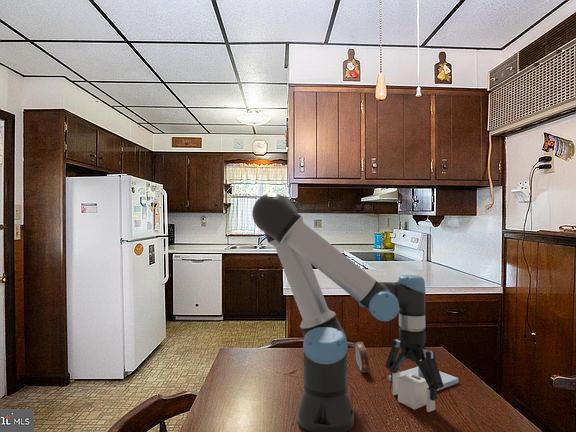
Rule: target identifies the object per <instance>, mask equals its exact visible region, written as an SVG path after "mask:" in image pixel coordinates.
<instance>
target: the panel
mask: <svg viewBox="0 0 576 432" xmlns="http://www.w3.org/2000/svg"><path fill="white" fill-rule="evenodd" d="M419 361H422V359H421V360H419ZM399 372H400V377H401V376H404V375H407V374H410V373H412V374H414V375H417V376H419V377H421V378H424V376H423V374H422V372H421V370H420V368H419V366H418V365H417V366H415V367H413V368H410V369H406V370H402V371H399ZM439 373H440V376H441V379H442V382H443V385H444V386H443V387H442V388H439V389H437V392H438V391H441V390H443V389H445V388H448V387H451V386H453V385H457V384H458V383H459V377H456V376H453V375H451V374H448V373H445V372H442V371H441V370H439ZM387 376H388V381H390V382H391V374H390V375H387ZM424 379H425V378H424ZM428 387H429V386H428Z"/></svg>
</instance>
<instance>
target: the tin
mask: <svg viewBox="0 0 576 432" xmlns="http://www.w3.org/2000/svg"><path fill="white" fill-rule="evenodd" d="M354 346H355V347H354V348H355V360H356V363H357V366H358V369H359V371H360V372H361V373H369V371H370V365H369V364H370V363H369V357H368V351H367V349H366V347H365V345H364V343H363V341H357V342H356V341H355V343H354Z"/></svg>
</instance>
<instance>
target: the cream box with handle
mask: <svg viewBox="0 0 576 432" xmlns="http://www.w3.org/2000/svg"><path fill="white" fill-rule="evenodd" d="M427 387H428V384H427V382H426V380H425V379H424V378H421V377H419V376H417V375H414V374H412V373H410V374H407V375H404V376H401V377H398V394H397V402H399V403H400V404H403V405H405V406H406V407H409V408H411V409H413V410H414V411H415V410H417V409H419V408H422V407H424V406H425V407H426V406H427V404H426V388H427Z"/></svg>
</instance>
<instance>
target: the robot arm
mask: <svg viewBox="0 0 576 432" xmlns="http://www.w3.org/2000/svg"><path fill="white" fill-rule="evenodd" d="M251 215H252V219H253V223H254V224H255V225H256V227H257V228H258V229H259V230H260V231H262V232H263V233H264V235H265V238H266V241H267V243H268V244H269V245H270V246H273V247H274V248H275V250H276V253H277V256H278V258H279V261H280V263H281V266H282V269H283V271H284V274H285V276H286V279H287V281H288V285H289V287H290V290H291V292H292V295H293V298H294V300H295V303H296V305H297V309H298V311H299V314H300V316H301V318H302V320H301V322H300V325H299V328H300V330H301V332H302V335H303V341H302V349H303V392H302V396H301V398H300V403H299V406H298V408H297V423H298V426H300V427H301V428H302V429H303V430H305V431H306V432H348V431H350V430H351V429H352V428H353V426H354V425H355V414H354V410H353V406H352V403H351V400H350V397H349V394H348V348H349V347H348V345H349V344H348V341H347V335H346V332H345V331H344V329H343V327H342V325H341V324H340V322H339V320H338V316H337V314H336V312H335V311H332V309H329V307H328V304H327V301H326V299H325V297H324V293H323V292H322V289H321V286H320V284H319V281H318V279H317V276H316V273H315V271H314V268H316V269H317V270H319V271H320V272H321V273H322V274H323V275H325V276H326V277H327V278H329V279H330V280H331V281H332V282H333V283H334V284H336V285H337V286H339V288H340V289H342V290H344V291H345V292H346V293H347V294H348V295H349V296H350V297H352V298H354V299H355V300H356V301H357V302H358V305H359V307H362V308H365V309H367V310H368V311H369V313H370V315H372V316H373V318H375V319H377V321H381V322H389V321H393V319H395V318H396V317H397V316H398V326H399V328H398V338H396V339H393V340H391V348H390V351H389V354H388V357H387V359H386V361H385V362H386V363H385V368H386V369H389V372H390V375H391V381H390V382H391V383H392V387H391V388H392V395H393V396H397V395H398V377H400V372H401V371H400V368H401V366H402V365H403V364H404V363H405V361H406V360H411V362H414V363H415V364H416V366H417V367H418V366H419V368H420V370H421V372H422V374H423V376H424V378H425V380H426V382H427V384H428V386H429V387H427V388H426V404H427V405H426V412H427V413H430V412H433V411H435V410H436V400H437V399H438V391H437V389H439V388H442V387H443V386H444V385H443V382H442V379H441V376H440V373H439V371H440V370H439V367H438V364H437V361H436V352H435V350H434V349H431V350H430V349H429V350H428V349H427V348H426V347H425V344H426V341H427V340H426V339H427V338H426V337H427V336H426V333H427V332H426V293H427V292H426V283H425V278H423V277H422V276H420V275H416V274H403V275H399V277H398V280H397V281H393V282H390V281H389V282H388V281H387V282H386V281H377V280H376V279H375V278H374V277H373V276H371V275H370V274H369V273H367V272H366V271H365V270H364V269H362V268H361V267H360V266H358V264H356V263H355V262H353V261H352V260H351V259H350V258H349V257H348V256H346V255H345V254H343V253H342V252H341V251H340V250H338V248H336V247H335V246H334V245H332V244H331V243H330V242H329V241H327V240H326V239H325V238H323V236H321V235H319V234H318V233H317V232H316V231H315V230H313V229H312V228H311V227H310V226H309V225H307V224H306V223H305V222H304V219H303V216H302V215H301V214H299V213H298V209H297V206H296V205H295V204H294V202H293V200H291V199H290V198H288V197H286V196H284V195H281V194H279V193H275V192H274V193H266V194H263V195H262V196H260V197H259V198H258V199H257V200H256V201H255V203H254V205H253V208H252V213H251ZM313 266H314V268H313ZM400 350H401V351H400ZM399 351H400V352H399ZM420 360H422V361H420Z"/></svg>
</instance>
